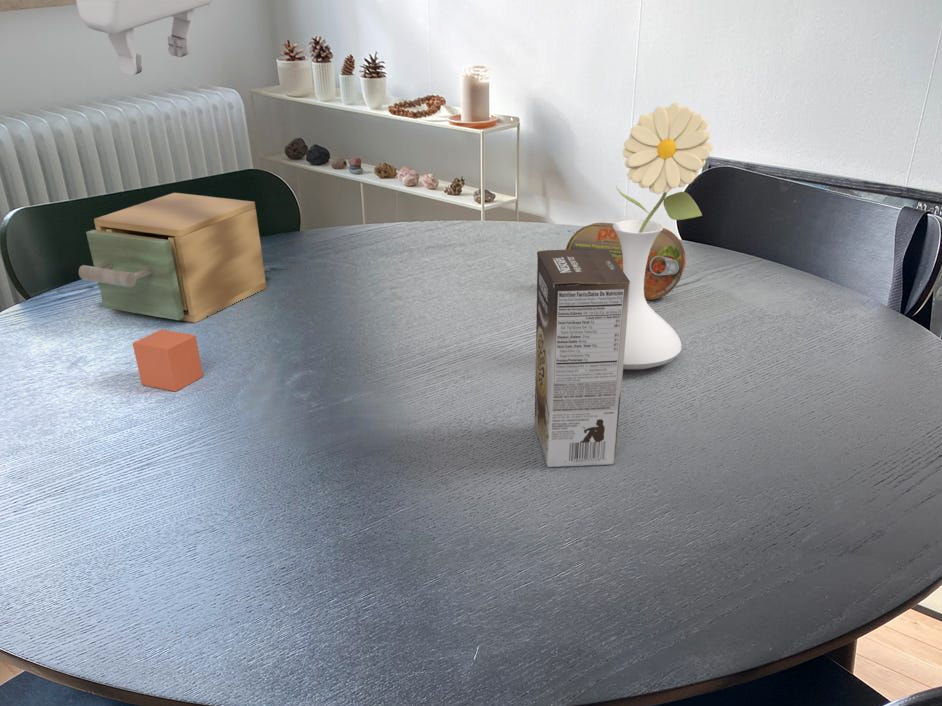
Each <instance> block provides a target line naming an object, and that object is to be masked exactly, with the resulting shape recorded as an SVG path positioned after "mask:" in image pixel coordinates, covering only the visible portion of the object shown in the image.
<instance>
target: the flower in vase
mask: <svg viewBox="0 0 942 706" xmlns="http://www.w3.org/2000/svg"><path fill="white" fill-rule="evenodd" d="M708 124H709V123H708V120H706V119H704V118H703V115H702V114H701V113H697V114H696V112H695V111H693V110H692V109H691V107H689V106H682V105H681V106H680V104H679V103H678V102H673V103H671V104H670V105H669V106H665V107H664V106H661V105H659V106H657V107H655V108H654V110H653V112H650V113H648V114H646V113H643V114H641V115H640V116H639V118H638V121H637V123H636V125H633V126H632V127H631V128H630V134H629V136H628V139H626V140H625V141H624V145H623V147H624V148H623V150H622V157H624V158H625V161H624V167H626V168H627V169H628V171H627V173H626V177H627V178H628V179H629V180H631V182H632V183H633V184H638V187H639V188H641V189H644V188H645V189H647V188H648V190H649V192H650V193H653V194H656V195H661V194H662V196H661V197H660V199H659V200H658V202H657V203H656V204H655V206H654V207H653V209H652V210H651V211H650V212H649V211H647V210H646V208H645V207H644V206H643V205H642V204H641V203H640V202H639V201H637V200H636V199H634V198H632V197H630V196H628V195H626V194H624V193H623V192H622V191H621V190H620V189H619V188H618V186H617V185H615V186H616V190H617V191H618V193H619V194H620V195H621V196H622V197H623V198H625V199H626V200H628V202H631V203H633V204H634V205H636V206H638V207H639V208H641V210H643V211H644V212H646V213H647V214H648V215H647V216H646V218H645V219H626V220H621V221H617V222H615V223H613V224H614V225H613V229H614V230H615V232H616V234H617V235H618V238H619V240H620V243H621V247H622V255H623V272H624V273H625V275H626V276H627V278H628V279H629V281H630V290H629V303H628V315H627V327H626V340H625V351H624V362H623V370H646V369H651V368H656V367H659V366H662V365H665V364H668V363H670V362H672V361H673V360H675V359H676V357H678V355H679V354H680V352H681V351H682V348H683V347H682V342H681V339H680V336H679V335H678V334H677V332H676V331H675V330H674V328H673V327H672V326H671V325H670V324H669V323H668V322H667V321H665V319H664V318H662V317H661V316H660V315H659V314H658V313H657V312H656V311H655V310H654V309H653V308H652V307H651V306H650V305H649V303H648V302H647V300H645V297H644V277H645V269H646V264H647V259H648V256H649V252H650V249H651V247H652V244H653V242H654V240H655V239H656V237H657V236H658V234H659V233H660V232H661V231H662V229H663V228H664V226H663V225H662V224H661V223H659V222H656V221H653V220H652V221H651V218H652V217H653V216H654V214H655V213H656V212H657V210H658V209H659V208H660V207H661V205H663V207H664V210H665V211H666V214H667V215H668V217H669V218H670V219H671V220H674V221H683V220H688V219H694V218H699V217H702V216H703V214H702V212H701V210H700V208H699V206H698V204H697V203H696V202H695V200H694V199H693V198H692V196H691V195H690V194H689V193H688V192H687V191H678V192H675V193H673V194H670V195H668V196H667V194H668V193H669V192H671V191H672V189H676V188H684V187H686V185H690V184H692V183H693V182H694V181H695V179H696V178H697V177H698V175H699V170H700V169H702V168H704V167H705V166H706V163H707V162H706V160H707V159H708V158H709V157H710V154H711V152H712V151H713V144H712V143H711V142H710V141H709V140H710V138H711V133H710V131H709V130H707V128H708Z"/></svg>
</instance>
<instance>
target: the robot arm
mask: <svg viewBox="0 0 942 706" xmlns="http://www.w3.org/2000/svg"><path fill="white" fill-rule="evenodd" d="M75 1H76V2H75V3H76V7H77V12H78V15H79V17H80V19H81V21H82V22H83V24H84V25H85V26H86V28H88V29H91V30H93V31H97V32H101V33H105V34H108V39H109V41H110V43H111V45H112V47H113V49H114V50H115V52H116V55H117V57H118V59H117V60H118V68H119V71H120V72H121V74H123V75H127V76H131V77H132V76H135V75H138V74H141V73H142V71H143V67H142V55H141V54H137V53H136V51H135V47H134V45H133V42H132V40H134V39H135V33H134V29H135V28H138V27H141V26H145V25H147V24H148V25H149V24H151V23H153V22H154V23H155V22H157V21H161V20H162V19H166V18H170V17H172V18H173V19H172V20H173V21H172V27H171V34H170V35H169V36H167V45H168V53H169V54H170V55H171V56H173V57H177V58H183V57H185V56H188V55H189V54H190V37H191V33H192V29H193V25H194V22H195V9H198V8H201V7H204V6H208V5H210V4H211V3H212V0H75Z"/></svg>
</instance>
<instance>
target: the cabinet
mask: <svg viewBox="0 0 942 706" xmlns="http://www.w3.org/2000/svg"><path fill="white" fill-rule="evenodd" d="M93 222H94V226H95V230H99V231H106V229H108V228H116V229H123V230H131V231H138V232H145V233H153V234H160V235H168V236H175V242H176V248H177V253H178V258H179V264H180V269H181V274H182V280H183V285H184V290H185V296H186V301H187V307H188V310H183V313H184V318H182V319H180V320H179V321H184V322H187V323H188V322H189V323H198V322H200V321H202V320H204V319H206V318H208V317H211V316H212V314H213V315H215V314H216V312H217V311H219V310H221V311H222V309H223V310H225V309H227V308H229V307H231V306H233V305H235V304H237V303H239V302H241V301H243V300H246V299H247V297H248V298H250V297H252V296H254V295H256V294H258V293H260V292H262V291H264V290H266V289H267V282H266V274H265V266H264V259H263V252H262V244H261V237H260V231H259V223H258V222H259V221H258V216H257V208H256V202H255V201H252V200H242V199H234V198H226V197H215V196H208V195H199V194H191V193H190V194H189V193H181V192H172V193H169V194H166V195H163V196H159V197H157V198H154V199H151V200H147V201H144V202H141V203H138V204H135V205H132V206H128V207H126V208H123V209H120V210H117V211H114V212H111V213H108V214H105V215H101V216H99V217H95V218H94V219H93ZM106 232H107V231H106ZM261 290H262V291H261ZM257 292H258V293H257ZM255 293H256V294H255ZM253 294H254V295H253ZM251 295H252V296H251ZM249 296H250V297H249ZM245 298H246V299H245ZM242 299H243V300H242ZM240 300H241V301H240ZM238 301H239V302H238ZM236 302H237V303H236ZM234 303H235V304H234ZM232 304H233V305H232ZM230 305H231V306H230ZM228 306H229V307H228ZM226 307H227V308H226ZM224 308H225V309H224ZM219 312H220V311H219ZM214 313H215V314H214ZM217 313H218V312H217ZM207 316H208V317H207Z"/></svg>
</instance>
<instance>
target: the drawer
mask: <svg viewBox="0 0 942 706" xmlns="http://www.w3.org/2000/svg"><path fill="white" fill-rule="evenodd" d="M106 231H107V232H106ZM106 231H99V230H96V229H90V230H88V231H86V232H85V233H86V238H87V243H88V247H89V252H90V255H91V259H92V263H93V266H92V265H85V264H82V265H80V266H79V268H78V276H79V278H80V279H81V280H83V281H87V282H89V281H90V282H94V283H97V285H98V289H99V293H100V297H101V301H102V305H103V308H104V309H109V310H116V311H121V312H127V313H133V314H140V315H146V316H152V317H157V318H163V319H168V320H174V321H181V320H180V319H182V318H184V313H183V310H188V307H187V301H186V296H185V290H184V285H183V280H182V274H181V269H180V264H179V258H178V253H177V248H176V242H175V236H168V235H160V234H153V233H145V232H138V231H131V230H123V229H116V228H108V229H106Z"/></svg>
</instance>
